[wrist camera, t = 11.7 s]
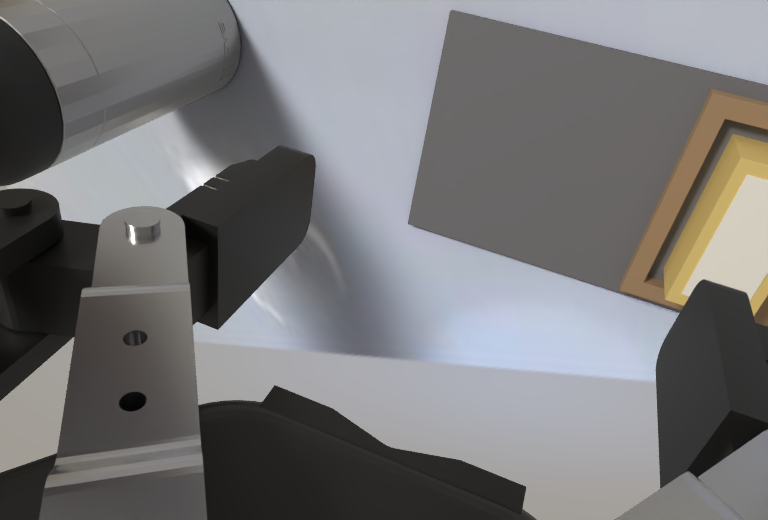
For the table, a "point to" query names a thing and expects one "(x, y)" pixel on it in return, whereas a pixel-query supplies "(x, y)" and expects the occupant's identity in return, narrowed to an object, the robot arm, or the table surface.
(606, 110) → the mat
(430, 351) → the table surface
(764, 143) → the card box
